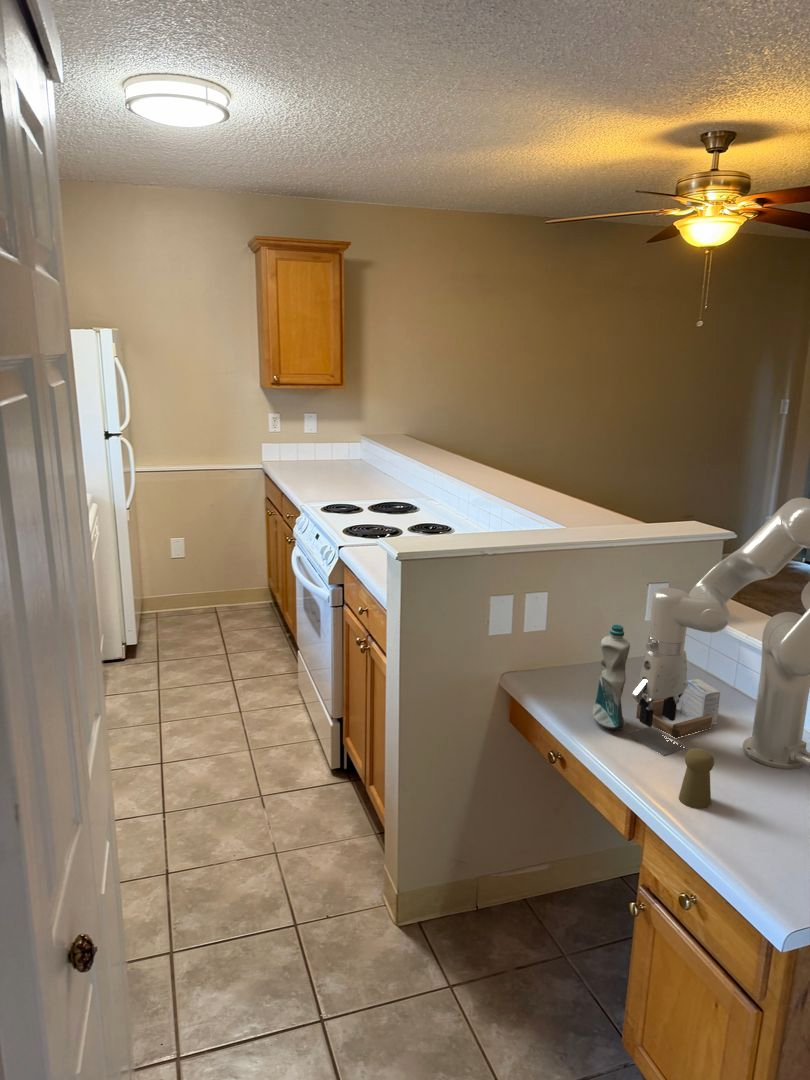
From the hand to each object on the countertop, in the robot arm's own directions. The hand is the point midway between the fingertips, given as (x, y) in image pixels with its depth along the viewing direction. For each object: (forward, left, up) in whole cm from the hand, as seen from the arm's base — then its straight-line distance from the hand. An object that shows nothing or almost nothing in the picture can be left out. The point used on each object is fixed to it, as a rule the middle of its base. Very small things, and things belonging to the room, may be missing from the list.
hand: (657, 720), depth 167 cm
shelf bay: (+5, -12, -5) cm, 14 cm away
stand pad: (0, 0, -5) cm, 5 cm away
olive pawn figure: (-21, +11, -6) cm, 24 cm away
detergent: (+10, +4, -6) cm, 13 cm away
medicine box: (+4, -18, -6) cm, 19 cm away
